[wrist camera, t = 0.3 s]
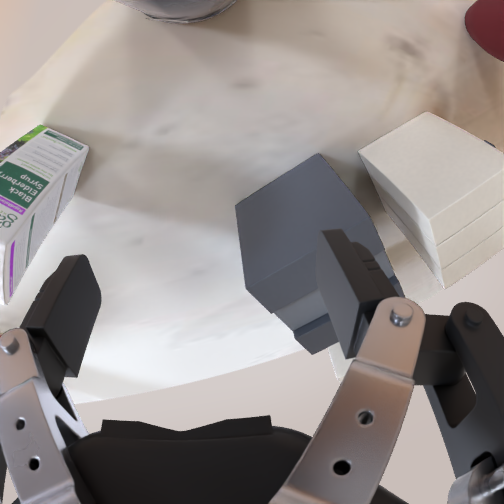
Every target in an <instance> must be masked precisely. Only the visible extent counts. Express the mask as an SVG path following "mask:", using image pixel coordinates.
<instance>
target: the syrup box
mask: <svg viewBox="0 0 504 504" xmlns="http://www.w3.org/2000/svg"><path fill="white" fill-rule="evenodd" d="M88 151H89V146H88V145H85V144H83V143H81V142H78V141H76V140H74V139H72V138H70V137H68V136H66V135H64V134H61V133H59V132H57V131H55V130H52V129H50V128H48V127H45V126H43V125H39V126H37V127H36V128H34V129H33V130H31V131H30V132H28V133H27V134H25V135H24V136H22V137H21V138H19V139H18V140H17V141H15V142H14V143H13V144H11V145H10V146H8V147H7V148H6V149H4V150H3V151H2V152H0V303H1V304H3V305H8V304H9V302H10V300H11V298H12V296H13V294H14V292H15V290H16V288H17V286H18V284H19V283H20V281H21V279H22V277H23V275H24V273H25V271H26V270H27V268H28V266H29V264H30V263H31V261H32V259H33V257H34V256H35V254H36V252H37V251H38V249H39V247H40V246H41V244H42V242H43V241H44V239H45V238H46V236H47V234H48V233H49V231H50V230H51V228H52V227H53V225H54V224H55V222H56V221H57V219H58V218H59V216H60V215H61V213H62V212H63V210H64V209H65V207H66V206H67V205H68V203H69V202H70V200H71V199H72V198H73V195H74V192H75V189H76V186H77V182H78V179H79V176H80V173H81V170H82V167H83V164H84V162H85V159H86V156H87V153H88Z"/></svg>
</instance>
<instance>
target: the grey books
mask: <svg viewBox="0 0 504 504" xmlns="http://www.w3.org/2000/svg"><path fill="white" fill-rule="evenodd" d="M235 209H236V217H237V225H238V233H239V241H240V249H241V256H242V264H243V272H244V279H245V287H246V290H247V291H248V292H249V293H250V294H252V295H253V296H254V297H255V298H256V299H257V300H258V301H259V302H260V303H261V304H262V305H263V306H264V307H265V308H266V309H267V310H268V311H269V312H270V313H271V314H272V313H274V314H275V315H276V316H277V317H278V318H280V319H281V320H282V321H283V322H284V323H285V324H286V325H287V326H288V327H289V328H290V329H291V330H292V331H293V333H294V337H295V339H296V340H297V341H298V342H299V343H300V344H301V345H302V346H303V347H304V348H305V349H306V350H307V351H309V352H310V353H311V354H312V355H313V354H315V353H317V352H319V351H322V350H323V349H326V348H328V347H330V346H332V345H334V344H336V343H338V342H339V340H338V338H337V335H336V332H335V330H334V327H333V324H332V322H331V319H330V317H329V314H328V311H327V309H326V306H325V304H324V301H323V298H322V296H321V293H320V291H319V288H318V285H317V281H316V273H315V267H316V253H317V237H318V232H319V230H328V229H339V228H341V229H342V230H343V231H344V233H345V234H346V236H347V237H348V239H349V240H350V242H359V243H360V244H362V245H363V246H364V247H366V248H367V249H369V251H370V252H371V254H372V255H373V256H374V258H375V261H377V262H378V264H379V265H380V267H381V269H382V270H383V271H384V273H385V275H386V276H387V278H388V279H389V281H390V282H391V284H392V285H393V287H394V288H395V290H396V292H397V293H398V295H399V296H400V297H403V298H405V296H404V293H403V291H402V288H401V285H400V283H399V281H398V279H397V278H396V276H395V274H394V271H393V269H392V266H391V264H390V262H389V259H388V257H387V255H386V252H385V248H384V246H383V244H382V241H381V239H380V237H379V235H378V233H377V230H376V228H375V226H374V224H373V222H372V220H371V218H370V216H369V214H368V213H367V212H366V211H365V209H364V208H363V207H362V205H361V204H360V203H359V201H358V200H357V199H356V198H355V196H354V195H353V194H352V192H351V191H350V190H349V189H348V187H347V186H346V185H345V184H344V183H343V181H342V180H341V179H340V178H339V176H338V175H337V174H336V173H335V172H334V170H333V169H332V168H331V167H330V166H329V164H328V163H327V162H326V161H325V160H324V158H323V157H322V156H321V155H320V154H319V153H318V154H316V155H314V156H313V157H311V158H309V159H308V160H306V161H304V162H303V163H301V164H300V165H298V166H296V167H295V168H293V169H292V170H290V171H288V172H287V173H285V174H284V175H282V176H280V177H279V178H277V179H276V180H274V181H272V182H271V183H269V184H268V185H266V186H265V187H263V188H262V189H260V190H258V191H257V192H255V193H254V194H252V195H251V196H249V197H248V198H246V199H244V200H243V201H241V202H240V203H238V204H237V205H235Z"/></svg>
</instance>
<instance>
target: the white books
mask: <svg viewBox="0 0 504 504" xmlns="http://www.w3.org/2000/svg"><path fill="white" fill-rule="evenodd" d="M358 153H359V155H360V157H361V159H362V161H363V163H364V165H365V167H366V169H367V171H368V173H369V175H370V177H371V180H372V182H373V184H374V186H375V188H376V191H377V193H378V195H379V197H380V200H381V202H382V204H383V207H384V209H385V211H386V213H387V214H388V215H389V216H390V218H391V219H392V220H393V221H394V223H395V224H396V225H397V226H398V228H399V229H400V230H401V231H402V233H403V234H404V235H405V236H406V238H407V239H408V240H409V241H410V243H411V244H412V245H413V247H414V248H415V249H416V251H417V252H418V253H419V255H420V256H421V257H422V259H423V260H424V261H425V263H426V264H427V265H428V267H429V268H430V270H431V271H432V272H433V274H434V275H435V277H436V278H437V279H438V281H439V282H440V284H441V285H442V287H443V288H444V289H447V288H448V287H450V286H451V285H453V284H454V283H456V282H457V281H459V280H460V279H462V278H463V277H465V276H466V275H468V274H469V273H471V272H472V271H473V270H475V269H476V268H478V267H479V266H480V265H482V264H483V263H485V262H486V261H487V260H489V259H490V258H491V257H493V256H494V255H495V254H497V253H498V252H499V251H501V250H502V249H503V248H504V153H502V152H501V151H499V150H498V149H496V148H495V146H494V145H492V144H491V143H489V142H487V141H486V140H484V141H483V140H481V139H479V138H478V137H476V136H474V135H472V134H471V133H469V132H467V131H465V130H463V129H462V128H460V127H458V126H456V125H454V124H452V123H450V122H448V121H446V120H444V119H442V118H440V117H438V116H436V115H434V114H432V113H430V112H428V111H426V112H424V113H422V114H421V115H419V116H417V117H415V118H414V119H412V120H410V121H408V122H407V123H405V124H403V125H401V126H400V127H398V128H396V129H394V130H393V131H391V132H389V133H388V134H386V135H384V136H382V137H381V138H379V139H377V140H376V141H374V142H372V143H370V144H369V145H367V146H365V147H364V148H362V149H360V150H359V151H358Z"/></svg>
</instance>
